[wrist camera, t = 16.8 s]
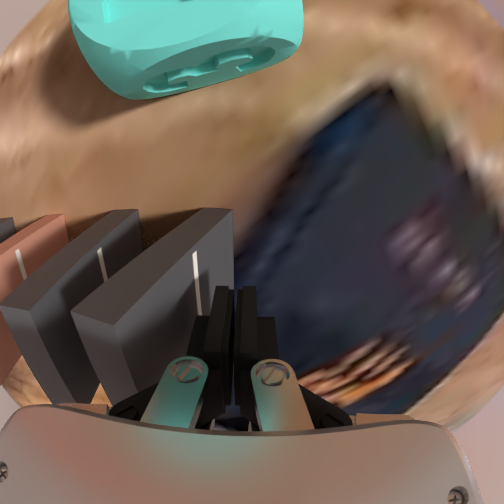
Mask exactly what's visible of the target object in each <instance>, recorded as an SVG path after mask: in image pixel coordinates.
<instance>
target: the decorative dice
mask: <svg viewBox="0 0 504 504" xmlns="http://www.w3.org/2000/svg"><path fill="white" fill-rule="evenodd" d="M68 12H69V18H70V23H71V27H72V30H73V33H74V36H75V39H76V41H77V44H78V46H79V48H80V50H81V52H82V54H83V56H84V58H85V59H86V61H87V63H88V64H89V66H90V67H91V69H92V70H93V72H94V73H95V74H96V75H97V77H98V78H99V79H100V80H101V81H102V82H103V83H104V84H105V85H106V86H107V87H108V88H109V89H110V90H112V91H113V92H115V93H116V94H118V95H120V96H123V97H125V98H127V99H133V100H139V99H150V98H156V97H162V96H167V95H172V94H177V93H181V92H185V91H189V90H193V89H197V88H201V87H205V86H209V85H212V84H216V83H220V82H223V81H227V80H230V79H233V78H237V77H240V76H243V75H246V74H250V73H253V72H256V71H258V70H261V69H264V68H267V67H269V66H272V65H274V64H277V63H279V62H281V61H283V60H285V59H287V58H288V57H290V56H291V55H292V54H293V53H294V52H295V51H296V50H297V48H298V47H299V45H300V43H301V40H302V35H303V5H302V0H68Z"/></svg>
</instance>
